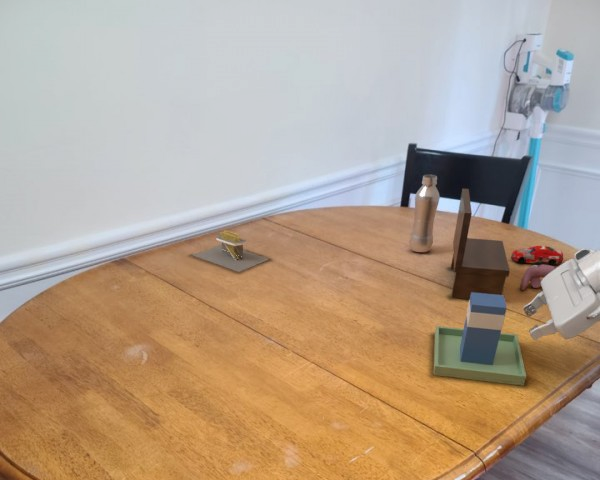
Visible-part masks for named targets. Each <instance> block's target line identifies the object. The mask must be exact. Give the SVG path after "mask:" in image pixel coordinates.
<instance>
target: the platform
mask: <svg viewBox="0 0 600 480" xmlns="http://www.w3.org/2000/svg"><path fill="white" fill-rule="evenodd" d="M223 231H224V232H223ZM223 231H220V232H219V233H217V235H216V237H215V239H216V240H215V241H218V242H221V244H218V245H216V246H215V245H214V246H213V247H210V248H206V249H204V250H202V251H199V252H196V253H194V254H192V256H193V257H196V258H199V259H201V260H204V261H206V262H209V263H211V264H215V265H218V266H220V267H223V268H225V269H230V270H232V271H234V272H237V273H240V272H243V271H246V270H248V269H251V268H252V267H255V266H257V265H259V264H262V263H264V262H267V261H269V260H270V258H269V257H265V256H262V255H259V254H256V253H253V252H249V251H248V250H245V249H244V245H247V244H248V240H246V239H243V238H241V235H240V234H238V233H235V232H232V231H229V230H227V229H225V230H223ZM222 249H224V250H226V251H224V250H222ZM227 251H229V252H227ZM236 255H237V256H236ZM238 255H239V256H238ZM241 256H242V257H241Z"/></svg>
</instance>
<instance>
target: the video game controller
mask: <svg viewBox="0 0 600 480" xmlns="http://www.w3.org/2000/svg"><path fill="white" fill-rule="evenodd" d="M557 267H558V266H555V265H553V266H550V265H549V264H533V265H530V266H528V267H527V268H526V269H525V271H524V273H523V275H522V278H521V283H520V290H521V291H525V290H526V289H527V288H528V285H529V282H530V284H531V287H532V288H534V289H537V288H540V287H541V281H542V280H541V278H544V277H545V276H546V275H547V274H549V273H550V272H552V271H553V270H554V269H556V268H557Z"/></svg>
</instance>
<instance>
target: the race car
mask: <svg viewBox="0 0 600 480" xmlns="http://www.w3.org/2000/svg"><path fill="white" fill-rule="evenodd" d="M510 258H511V260H512V261H515V262H517V263H518V264H520V265H523V264H536V265H550V266H555V265H561V264H563V263H564V262H563V260H564V253H563V251H561V250H559V249H555V248H554V247H551V246H548V245H547V246H546V245H534V246H530V247H528V248H519V249H515V250H514V251H512V253H511V255H510Z"/></svg>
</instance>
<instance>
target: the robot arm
mask: <svg viewBox="0 0 600 480" xmlns="http://www.w3.org/2000/svg"><path fill="white" fill-rule="evenodd" d="M573 257H574V258H570V259H568V260H566V261H564V262H562V263H561V264H559V266H556V267H557V268H556V269H554V270H553V271H552V272H550V273H549V274H547V275H546V276H545V277H542V280H541V285H540V287H541V289H542V291H540V292H539V293H537V294H536V295H535V296H534V298H533V299H532V300H531V301H530V302H529V303H527V304H525V305H524V306H523V312H524V314H525V315H526V316H527V317H531V316H532V315H534V314H537V312H538V310H539V309H540V308H542V306H544V305H547V307H548V310H549V313H550V316H551V318H549V319H548V320H547V321H546V323H544V324H541V325H538V324H536V325H534V326H533V327H531V328H529V330H528V332H529V336H530V337H531V339H532V340H534V341H537V340H539V339H541V338H542V337H545V336H549V335H550V336H551V335H555V334H556V333H559V335H561V337H562V338H563V339H564V340H570V339H574V338H576V337H577V336H579V335H580V334H582V333H583V332H585V331H586V330H588V329H590V328H591V327H593V326H594V325H595V324H597V323H599V321H600V249H598V250H595V249H588V248H581V249H579V250H578V251H576V252H575V253H574V254H573Z"/></svg>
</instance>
